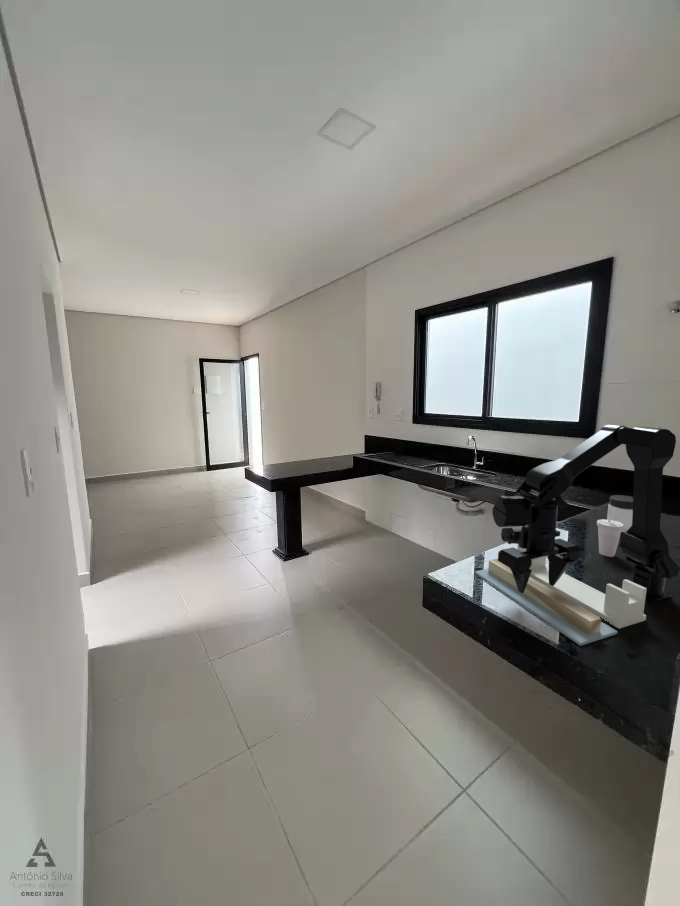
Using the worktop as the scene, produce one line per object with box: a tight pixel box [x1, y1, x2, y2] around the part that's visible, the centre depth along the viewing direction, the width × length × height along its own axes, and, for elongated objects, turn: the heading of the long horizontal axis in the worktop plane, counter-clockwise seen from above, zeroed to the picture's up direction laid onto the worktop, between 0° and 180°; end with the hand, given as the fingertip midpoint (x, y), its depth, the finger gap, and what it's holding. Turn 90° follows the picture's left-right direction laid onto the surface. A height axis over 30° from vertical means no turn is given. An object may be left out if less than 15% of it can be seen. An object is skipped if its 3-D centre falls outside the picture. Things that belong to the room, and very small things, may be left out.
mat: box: [474, 568, 618, 647], centre depth 85 cm, size 10×30×1 cm, turn 19°
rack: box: [516, 544, 647, 629], centre depth 88 cm, size 8×28×8 cm, turn 19°
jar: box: [606, 494, 633, 532], centre depth 123 cm, size 9×8×12 cm
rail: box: [487, 558, 602, 635], centre depth 85 cm, size 3×28×3 cm, turn 19°
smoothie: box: [596, 508, 624, 558], centre depth 107 cm, size 6×6×14 cm
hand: (536, 588), depth 85 cm, fingers open, 9 cm apart
